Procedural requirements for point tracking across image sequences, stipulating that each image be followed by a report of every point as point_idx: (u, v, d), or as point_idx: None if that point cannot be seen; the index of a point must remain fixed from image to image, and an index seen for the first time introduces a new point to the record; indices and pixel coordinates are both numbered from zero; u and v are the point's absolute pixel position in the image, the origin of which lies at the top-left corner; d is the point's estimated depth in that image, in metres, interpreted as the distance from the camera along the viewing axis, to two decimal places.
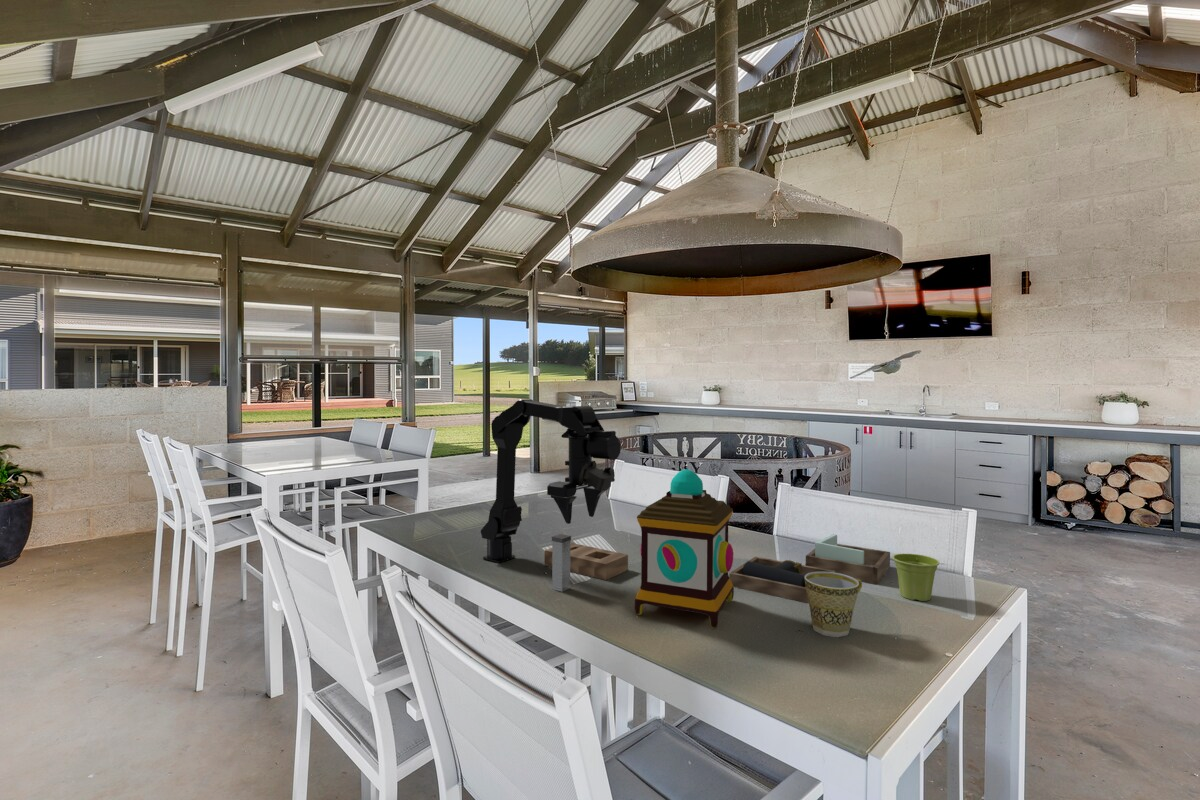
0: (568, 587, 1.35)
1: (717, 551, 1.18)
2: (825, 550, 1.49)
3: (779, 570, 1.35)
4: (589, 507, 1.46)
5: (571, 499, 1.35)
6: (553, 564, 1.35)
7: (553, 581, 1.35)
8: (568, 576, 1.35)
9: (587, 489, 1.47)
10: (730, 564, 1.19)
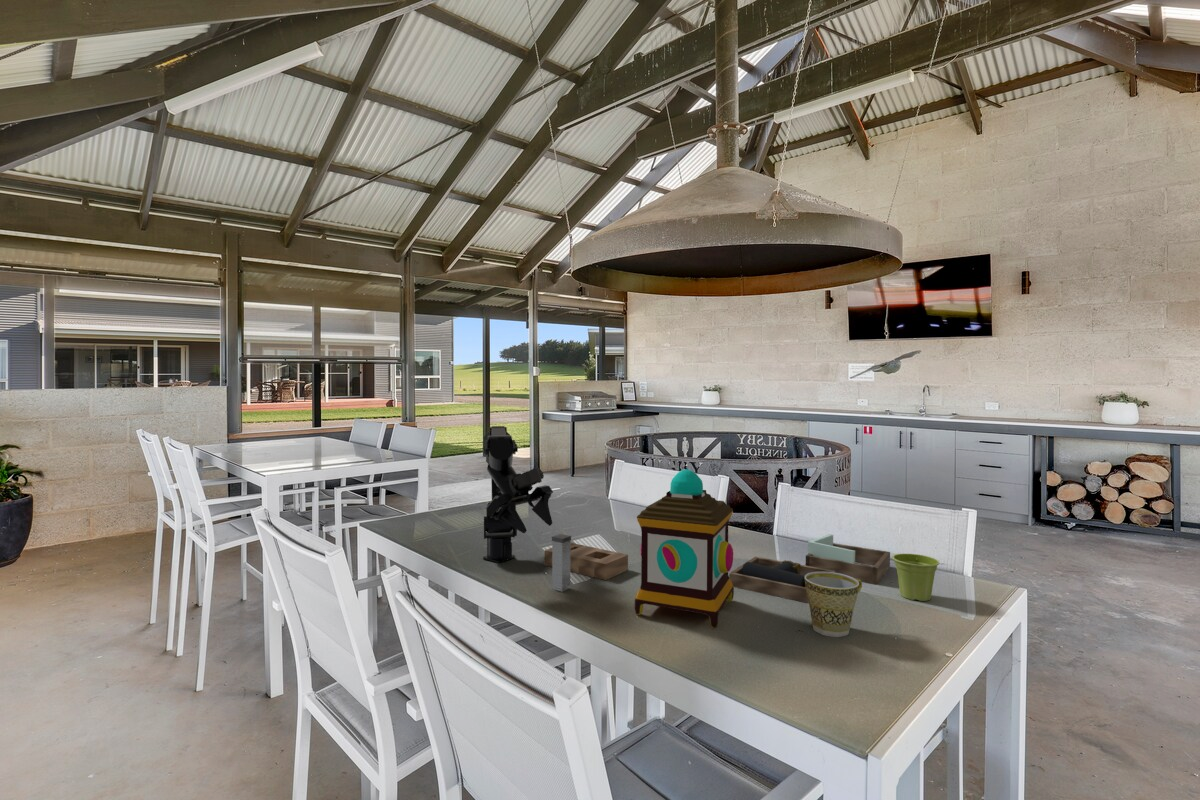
0: (568, 587, 1.35)
1: (717, 551, 1.18)
2: (817, 549, 1.49)
3: (778, 571, 1.35)
4: (544, 519, 1.44)
5: (510, 505, 1.35)
6: (553, 564, 1.35)
7: (553, 581, 1.35)
8: (568, 576, 1.35)
9: (534, 507, 1.47)
10: (730, 564, 1.19)
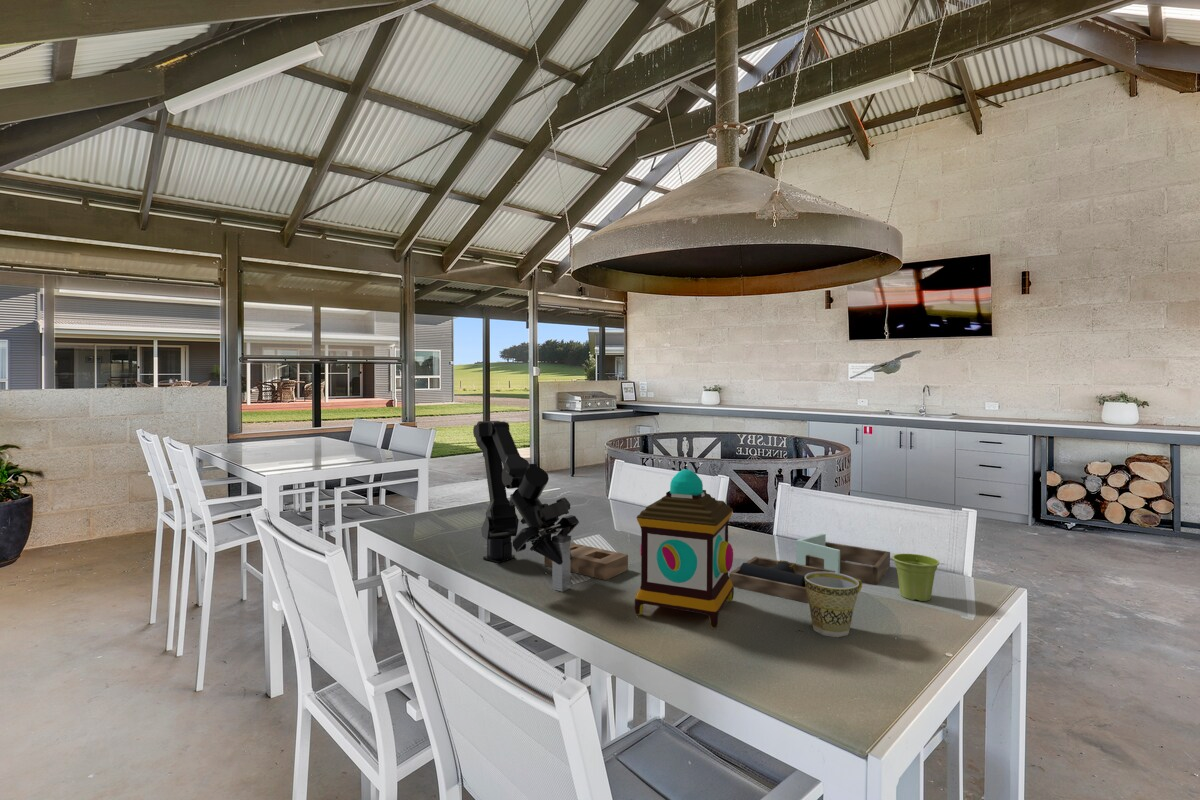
0: (568, 587, 1.35)
1: (717, 551, 1.18)
2: (805, 548, 1.50)
3: (777, 571, 1.34)
4: None
5: (546, 536, 1.33)
6: (553, 564, 1.35)
7: (553, 581, 1.35)
8: (568, 576, 1.35)
9: None
10: (730, 564, 1.19)
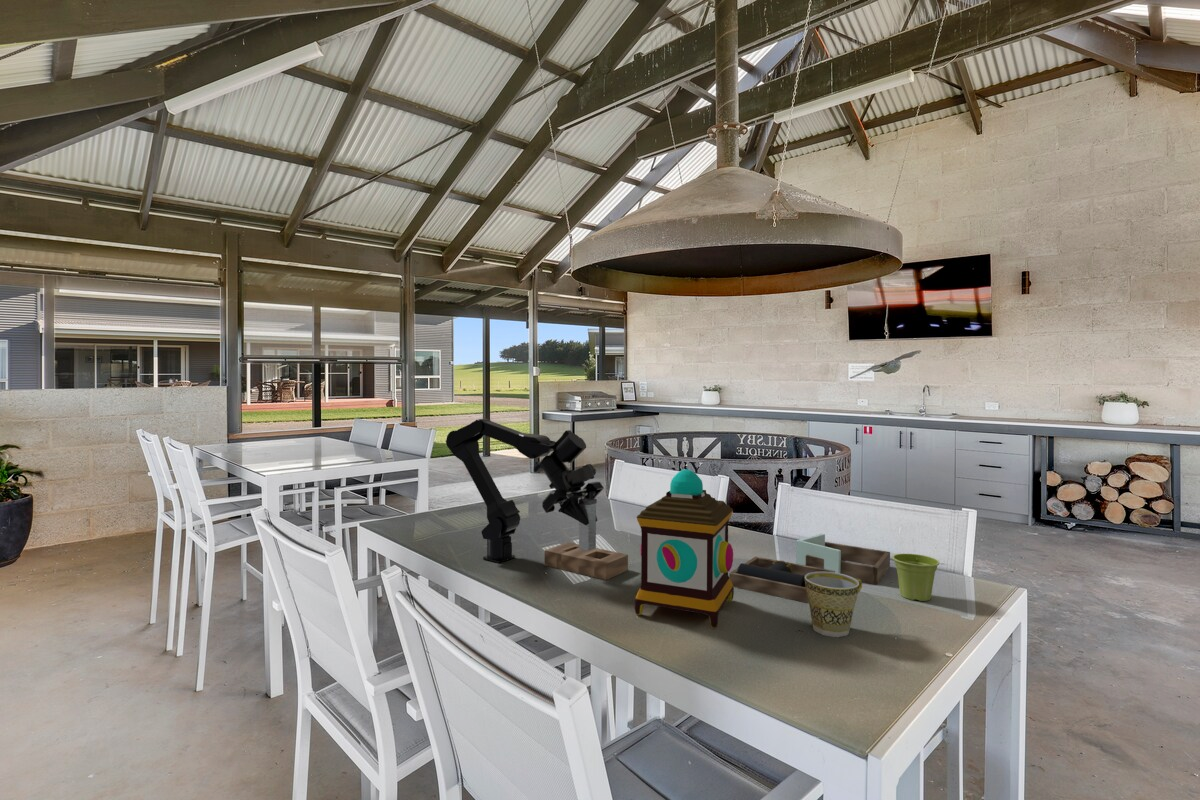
0: (594, 547, 1.44)
1: (717, 550, 1.18)
2: (805, 548, 1.50)
3: (775, 571, 1.34)
4: None
5: (574, 498, 1.42)
6: (580, 525, 1.44)
7: (580, 541, 1.44)
8: (594, 537, 1.44)
9: None
10: (730, 564, 1.19)
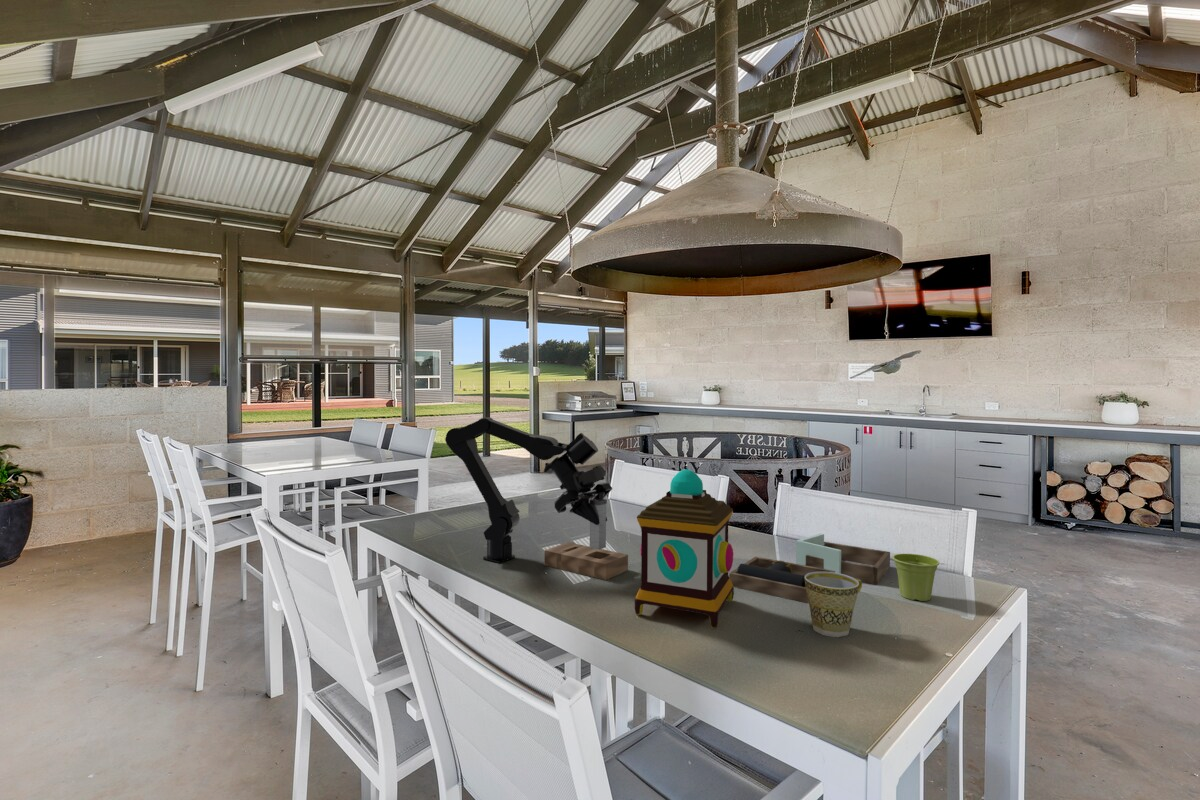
0: (604, 546, 1.49)
1: (717, 551, 1.18)
2: (805, 548, 1.50)
3: (775, 571, 1.34)
4: None
5: (585, 499, 1.46)
6: (590, 525, 1.48)
7: (590, 540, 1.48)
8: (604, 536, 1.49)
9: None
10: (730, 564, 1.19)
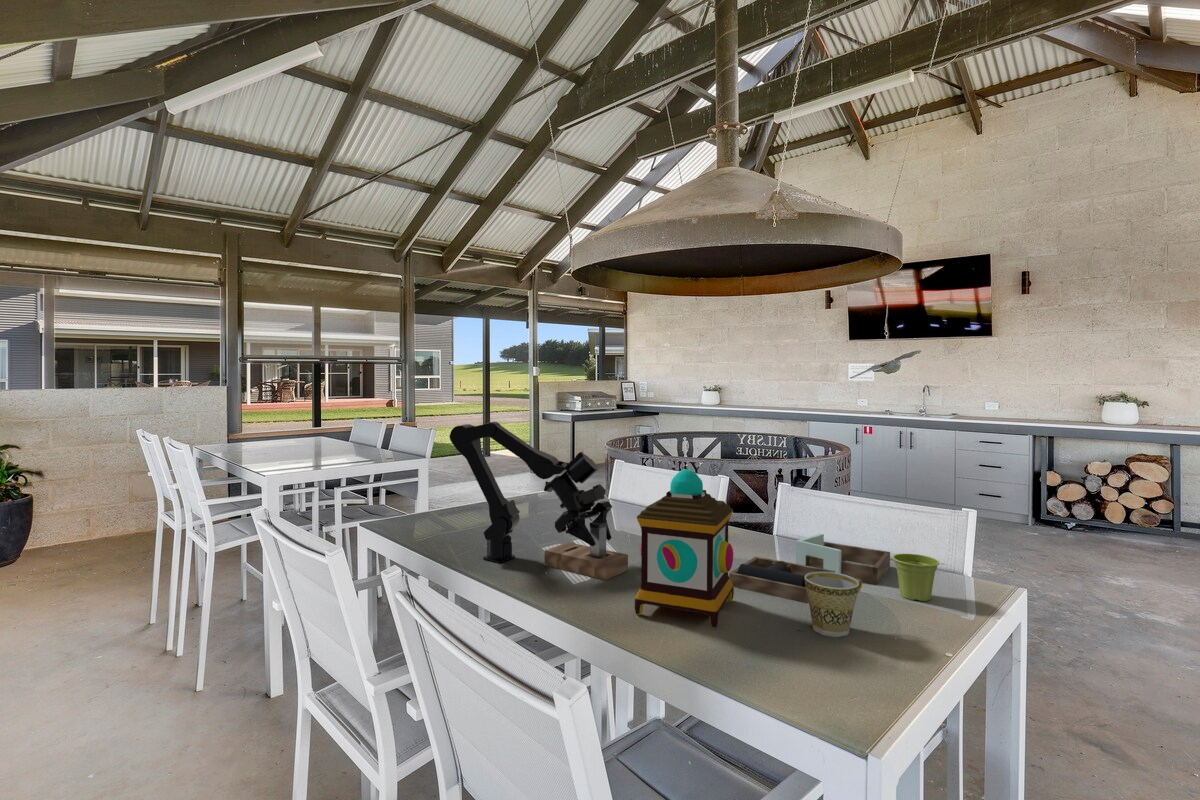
0: None
1: (717, 551, 1.18)
2: (805, 548, 1.50)
3: (776, 571, 1.34)
4: None
5: (581, 520, 1.45)
6: (590, 548, 1.48)
7: None
8: None
9: None
10: (730, 564, 1.19)
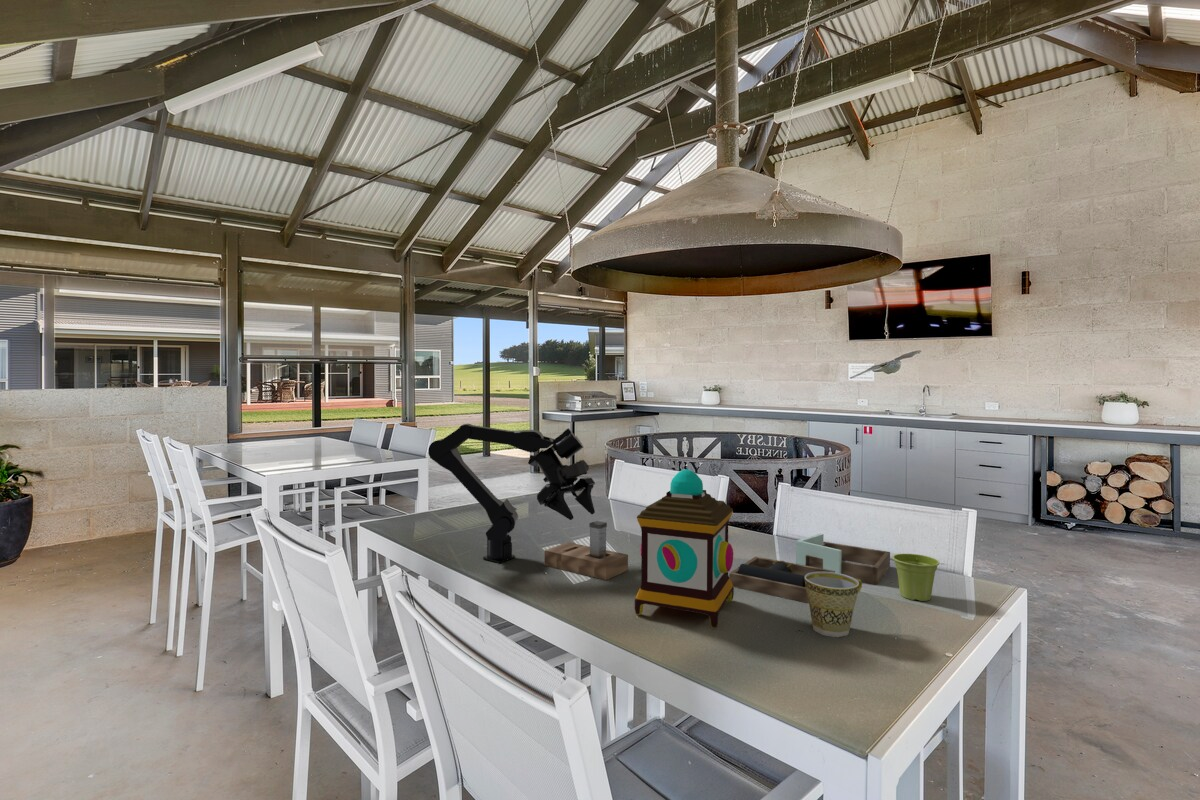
0: None
1: (717, 551, 1.18)
2: (805, 548, 1.50)
3: (776, 571, 1.34)
4: (587, 508, 1.56)
5: (560, 493, 1.47)
6: (590, 548, 1.48)
7: None
8: None
9: (578, 496, 1.58)
10: (730, 564, 1.19)
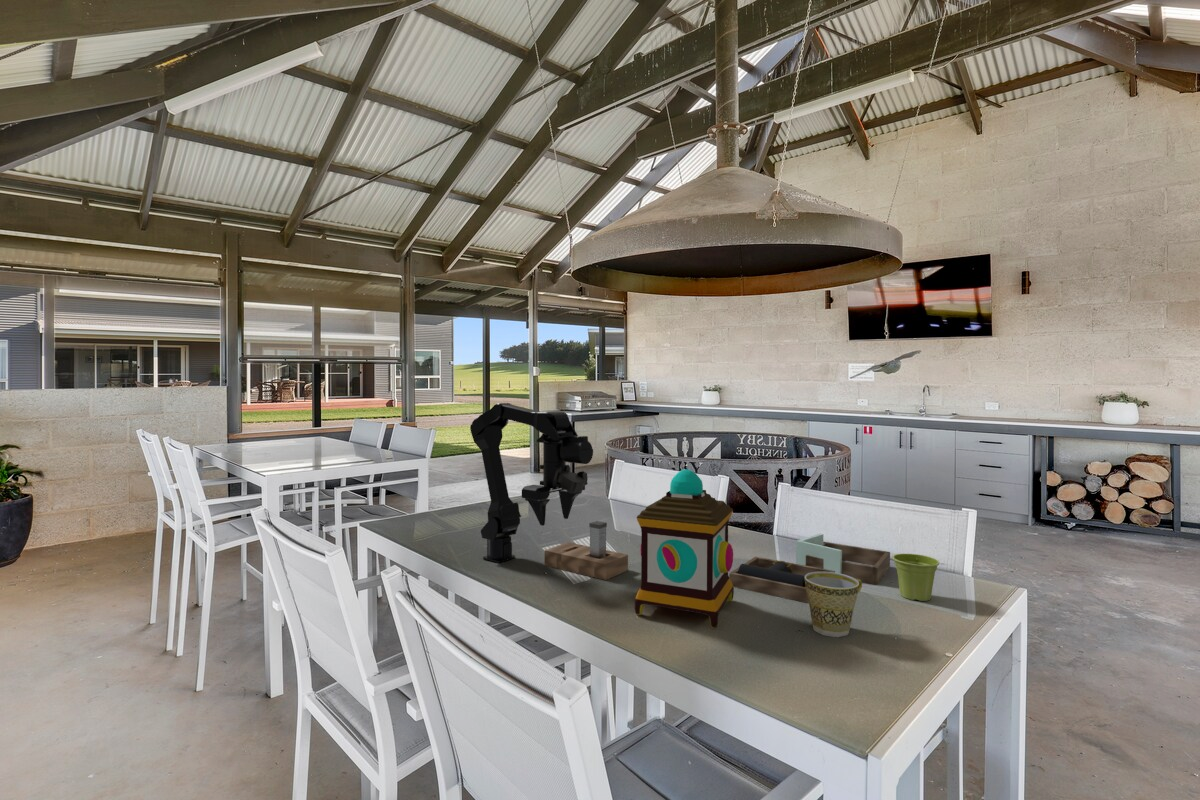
0: None
1: (717, 551, 1.18)
2: (805, 548, 1.50)
3: (776, 571, 1.34)
4: (563, 509, 1.51)
5: (544, 502, 1.40)
6: (590, 548, 1.48)
7: None
8: None
9: (562, 492, 1.52)
10: (730, 564, 1.19)
